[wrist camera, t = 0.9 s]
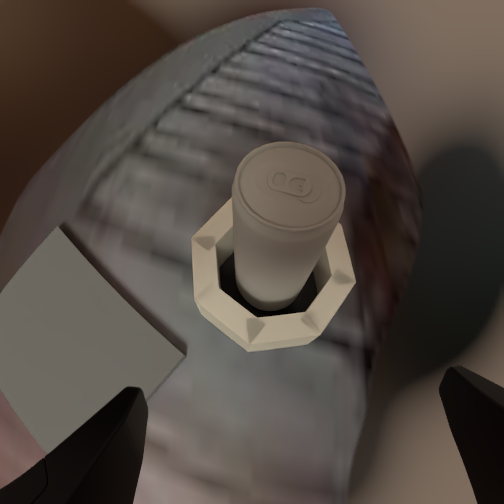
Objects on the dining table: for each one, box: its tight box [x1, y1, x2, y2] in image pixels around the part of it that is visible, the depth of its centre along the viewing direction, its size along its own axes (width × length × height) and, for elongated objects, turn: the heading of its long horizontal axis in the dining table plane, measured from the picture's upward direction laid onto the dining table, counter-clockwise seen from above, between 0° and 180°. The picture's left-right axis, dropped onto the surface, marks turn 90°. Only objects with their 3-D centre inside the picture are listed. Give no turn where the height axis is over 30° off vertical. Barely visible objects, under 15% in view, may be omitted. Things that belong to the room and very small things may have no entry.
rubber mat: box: [0, 226, 186, 454], centre depth 20 cm, size 16×14×1 cm
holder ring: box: [191, 197, 356, 352], centre depth 21 cm, size 10×10×4 cm
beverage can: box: [232, 142, 346, 311], centre depth 18 cm, size 5×5×12 cm
